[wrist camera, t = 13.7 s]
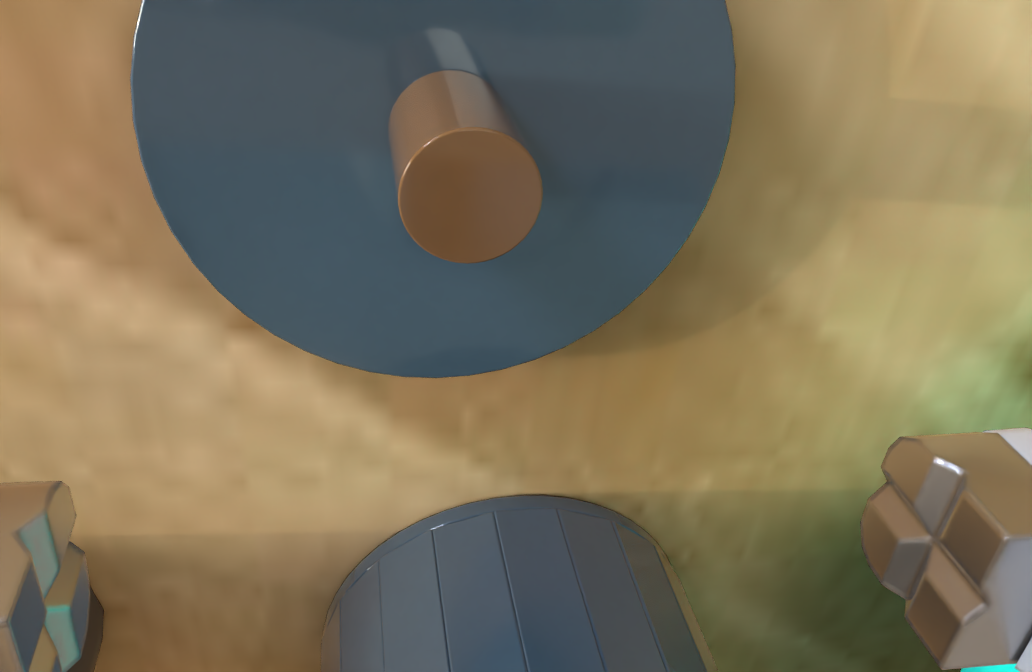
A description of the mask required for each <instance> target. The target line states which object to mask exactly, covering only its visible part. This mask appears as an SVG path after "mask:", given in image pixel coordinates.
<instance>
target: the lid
mask: <svg viewBox="0 0 1032 672" xmlns="http://www.w3.org/2000/svg"><path fill="white" fill-rule="evenodd" d="M735 69H736V64H735V55H734V45H733V35H732V26H731V22H730V18H729V14H728V9H727V5H726V1H725V0H142V2H141V6H140V11H139V15H138V20H137V24H136V28H135V33H134V37H133V50H132V62H131V75H130V85H131V101H132V116H133V124H134V129H135V134H136V139H137V144H138V149H139V154H140V158H141V162H142V165H143V168H144V171H145V173H146V176H147V179H148V182H149V185H150V188H151V190H152V193H153V196H154V198H155V200H156V202H157V204H158V206H159V208H160V210H161V212H162V214H163V216H164V218H165V220H166V222H167V224H168V226H169V228H170V230H171V232H172V233H173V235H174V236H175V238H176V239H177V241H178V242H179V244H180V245H181V246H182V248H183V249H184V251H185V252H186V254H187V255H188V257H189V258H190V260H191V261H192V263H193V264H194V265H195V266H196V267H197V268H198V269H199V271H200V272H201V273H202V274H203V275H204V276H205V277H206V278H207V280H208V281H209V282H210V283H211V284H212V285H213V286H214V287H215V288H216V290H217V291H218V292H219V293H221V294H222V295H223V296H224V297H225V298H226V299H227V300H229V301H230V302H231V303H232V304H233V305H234V306H235V307H237V308H238V309H239V310H240V311H241V312H242V313H243V314H244V315H246V316H247V317H249V318H250V319H252V320H253V321H255V322H256V323H257V324H259V325H260V326H262V327H263V328H265V329H266V330H268V331H269V332H271V333H272V334H274V335H275V336H277V337H279V338H281V339H283V340H285V341H287V342H289V343H291V344H292V345H294V346H296V347H298V348H300V349H302V350H304V351H306V352H309V353H311V354H314V355H316V356H319V357H322V358H324V359H327V360H329V361H332V362H335V363H337V364H341V365H345V366H349V367H353V368H356V369H360V370H364V371H368V372H373V373H380V374H387V375H394V376H401V377H422V378H443V377H457V376H470V375H475V374H481V373H486V372H492V371H497V370H502V369H506V368H509V367H512V366H516V365H519V364H522V363H526V362H529V361H533V360H535V359H538V358H540V357H543V356H545V355H547V354H550V353H552V352H554V351H557V350H559V349H562V348H564V347H566V346H568V345H570V344H571V343H573V342H575V341H577V340H579V339H580V338H582V337H584V336H586V335H588V334H589V333H591V332H593V331H595V330H596V329H597V328H599V327H600V326H602V325H603V324H604V323H606V322H607V321H609V320H610V319H612V318H613V317H614V316H616V315H617V314H619V313H620V312H621V311H623V310H624V309H625V308H626V307H627V306H628V305H629V304H630V303H632V302H633V301H634V300H635V299H636V298H637V297H638V296H640V295H641V294H642V293H643V292H644V291H645V290H646V289H647V288H648V287H649V286H650V285H651V284H652V283H653V282H654V280H655V279H656V278H657V277H658V276H659V275H660V274H661V273H662V272H663V271H664V269H665V268H666V267H667V266H668V265H669V264H670V262H671V261H672V259H673V258H674V257H675V255H676V254H677V253H678V251H679V250H680V248H681V247H682V246H683V244H684V243H685V241H686V240H687V239H688V237H689V236H690V234H691V232H692V230H693V228H694V227H695V225H696V223H697V221H698V220H699V218H700V216H701V214H702V212H703V211H704V209H705V207H706V205H707V202H708V200H709V198H710V195H711V193H712V190H713V188H714V186H715V183H716V181H717V178H718V176H719V173H720V170H721V166H722V163H723V159H724V155H725V152H726V148H727V145H728V141H729V136H730V130H731V123H732V117H733V110H734V104H735Z"/></svg>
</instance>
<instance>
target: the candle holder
mask: <svg viewBox="0 0 1032 672" xmlns="http://www.w3.org/2000/svg"><path fill="white" fill-rule="evenodd" d="M103 616H104V610H103V609H102V607H101V605H100V603H99V602H98V600H97V598H96V596H95V595H94V593H93V591H92V589H91V588H90V607H89V619H88V630H87V635H86V639H85V643H84V647H83V652H82V656H81V658H80V659H79V660H78V661H77V662H76V663H75V664H74V665H73V666H72V667H71V668H70V669H69V670H68V671H67V672H94V669H95V665H96V661H97V658H98V654H99V650H100V646H101V642H102V636H103Z"/></svg>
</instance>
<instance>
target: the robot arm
mask: <svg viewBox="0 0 1032 672" xmlns="http://www.w3.org/2000/svg"><path fill="white" fill-rule="evenodd" d="M881 468H882V471H883V473H884V475H885V477H886V480H887V482H886V483H885V484H884V485H883V486H882V487H881V488H879V489H878V490H877V491H876V492H875V493H874V494H873V495H872V496H870V497H869V498H868V501H867V504H866V507H865V510H864V513H863V516H862V519H861V522H860V526H861V540H862V549H863V551H864V554H865V557H866V559H867V562H868V565H869V567H870V568H871V570H872V571H873V573H874V574H875V576H876V577H877V579H878V580H879V582H880V583H881V585H883V586H885V587H886V588H888V589H889V590H891V591H893V592H894V593H896V594H897V595H899V596H901V597H902V598H904V599H905V600H906V606H905V619H906V621H907V622H908V623H909V625H910V626H911V628H912V629H913V630H914V632H915V633H916V635H917V636H918V638H919V639H920V640H921V642H922V643H923V645H924V646H925V647H926V649H927V650H928V652H929V653H930V655H931V656H932V657H933V659H934V660H935V662H936V663H937V665H938V666H939V667H940V669H941V670H946V669H958V668H970V667H982V666H993V665H1005V664H1016V666H1015V669H1017V670H1018V671H1020V672H1032V429H1029V428H1014V429H1001V430H988V431H984V432H972V433H955V434H939V435H922V436H906V437H899V438H898V439H897V440H896V441H895V442H894V443H893V444H892V445H891V446H890V447H889V448H888V450H887V453H886V455H885V458H884V460H883V462H882V465H881ZM75 519H76V511H75V507H74V504H73V500H72V496H71V492H70V488H69V486H67V485H66V484H65V483H63V482H62V481H46V482H15V483H0V672H67V671H68V670H69V669H70V668H71V667H72V666H73V665H74V664H75V663H76V662H77V661H78V660H79V659H80V658H81V656H82V652H83V647H84V643H85V639H86V635H87V630H88V619H89V607H90V585H89V572H88V567H87V562H86V557H85V552H84V551H82V550H81V549H80V548H78V547H77V546H76V545H74V544H73V543H72V542H70V541H69V539H70V536H71V532H72V529H73V526H74V522H75Z"/></svg>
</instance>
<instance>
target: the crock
mask: <svg viewBox="0 0 1032 672" xmlns="http://www.w3.org/2000/svg"><path fill="white" fill-rule="evenodd" d="M321 672H719V671H718V669H717V666H716V664H715V662H714V659H713V657H712V655H711V652H710V650H709V648H708V645H707V643H706V641H705V638H704V636H703V634H702V631H701V629H700V627H699V624H698V622H697V620H696V617H695V615H694V613H693V610H692V608H691V605H690V603H689V601H688V598H687V596H686V594H685V591H684V589H683V587H682V584H681V582H680V580H679V578H678V576H677V574H676V573H675V572H674V570H673V569H672V567H671V565H670V562H669V560H668V558H667V556H666V555H665V553H664V552H663V550H662V549H661V547H660V546H659V544H658V543H657V542H656V541H655V540H654V539H653V538H652V537H651V536H650V535H649V534H648V533H647V532H646V531H645V530H643V529H642V528H641V527H639V526H638V525H636V524H635V523H634V522H632V521H631V520H629V519H628V518H626V517H624V516H622V515H620V514H618V513H616V512H614V511H612V510H609V509H607V508H604V507H601V506H599V505H596V504H593V503H589V502H585V501H580V500H576V499H572V498H564V497H555V496H538V495H520V496H510V497H499V498H493V499H487V500H482V501H477V502H472V503H468V504H465V505H461V506H458V507H455V508H451V509H448V510H445V511H442V512H440V513H437V514H435V515H433V516H430V517H428V518H425V519H423V520H421V521H419V522H417V523H415V524H413V525H411V526H409V527H408V528H406V529H404V530H402V531H400V532H398V533H397V534H395V535H394V536H393V537H391V538H390V539H388V540H387V541H385V542H384V543H382V544H381V545H379V546H378V547H377V548H376V549H375V550H374V551H372V552H371V553H370V554H369V555H368V556H367V557H365V558H364V559H363V560H362V561H361V562H360V563H359V564H358V566H357V567H356V568H355V569H354V570H353V571H352V572H351V573H350V575H349V576H348V577H347V578H346V580H345V581H344V583H343V584H342V586H341V587H340V589H339V590H338V592H337V593H336V595H335V597H334V599H333V602H332V604H331V606H330V608H329V610H328V613H327V617H326V620H325V624H324V628H323V638H322V643H321Z"/></svg>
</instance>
